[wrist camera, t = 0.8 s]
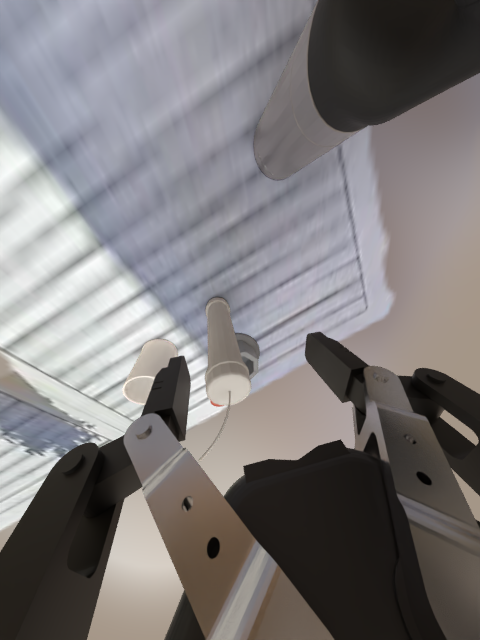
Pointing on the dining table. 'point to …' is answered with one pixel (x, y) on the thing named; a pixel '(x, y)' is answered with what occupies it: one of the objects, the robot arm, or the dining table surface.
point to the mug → (148, 369)
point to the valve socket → (247, 354)
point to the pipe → (224, 361)
